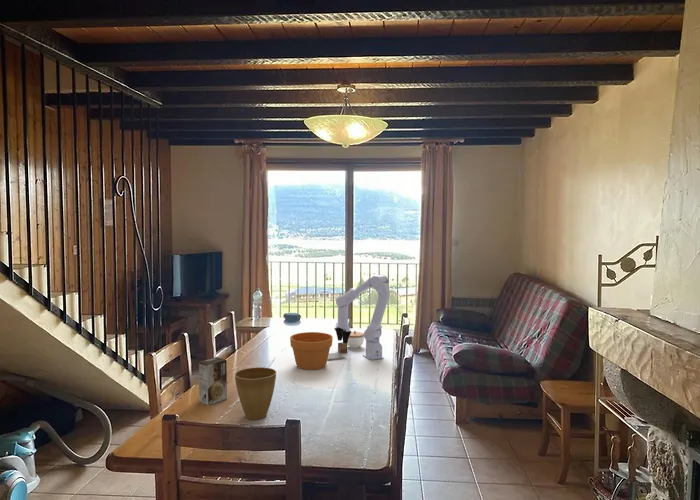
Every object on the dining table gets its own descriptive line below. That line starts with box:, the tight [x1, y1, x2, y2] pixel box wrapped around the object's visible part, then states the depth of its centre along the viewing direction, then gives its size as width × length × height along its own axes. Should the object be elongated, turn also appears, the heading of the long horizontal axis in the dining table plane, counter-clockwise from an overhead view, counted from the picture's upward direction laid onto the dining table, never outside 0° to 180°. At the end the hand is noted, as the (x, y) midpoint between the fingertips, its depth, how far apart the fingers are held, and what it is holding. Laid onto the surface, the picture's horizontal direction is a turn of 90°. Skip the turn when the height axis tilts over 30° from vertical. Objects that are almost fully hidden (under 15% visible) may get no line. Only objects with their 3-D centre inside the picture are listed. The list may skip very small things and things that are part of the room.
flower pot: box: [289, 331, 333, 371], centre depth 243 cm, size 21×21×15 cm
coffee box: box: [198, 356, 228, 406], centre depth 193 cm, size 9×6×16 cm
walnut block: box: [337, 341, 348, 354], centre depth 270 cm, size 4×4×5 cm
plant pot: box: [234, 366, 277, 420], centre depth 178 cm, size 15×15×16 cm
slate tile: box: [327, 352, 346, 361], centre depth 260 cm, size 10×10×1 cm
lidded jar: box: [347, 330, 365, 349], centre depth 282 cm, size 11×11×9 cm
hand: (342, 341), depth 270 cm, fingers open, 7 cm apart
